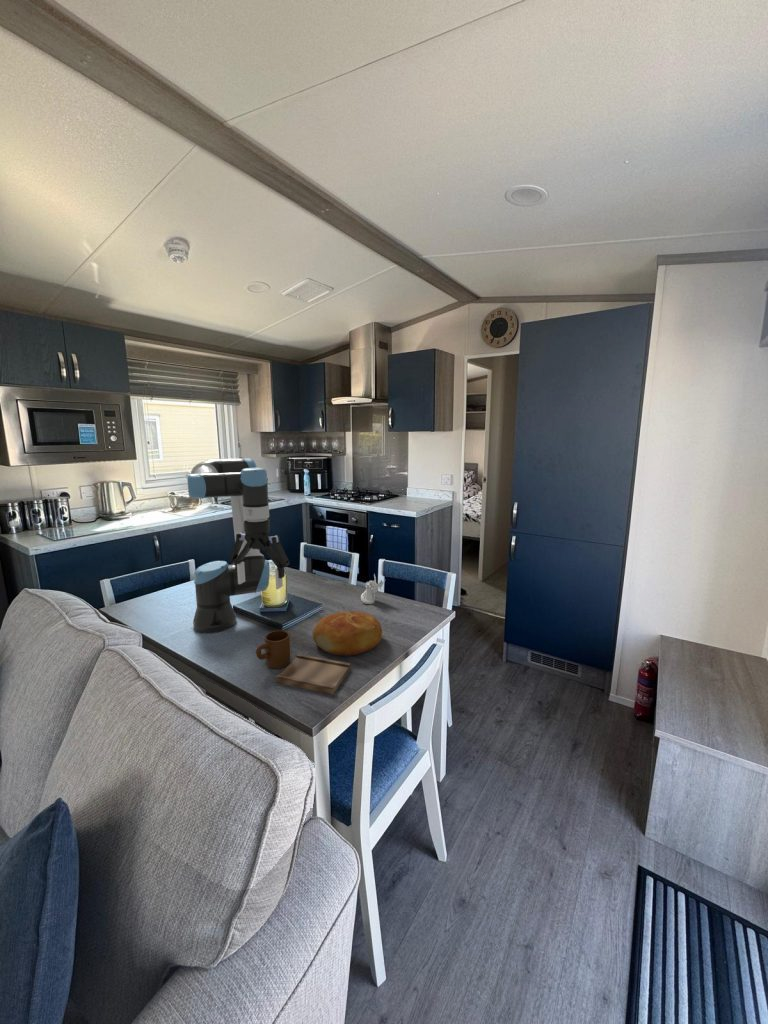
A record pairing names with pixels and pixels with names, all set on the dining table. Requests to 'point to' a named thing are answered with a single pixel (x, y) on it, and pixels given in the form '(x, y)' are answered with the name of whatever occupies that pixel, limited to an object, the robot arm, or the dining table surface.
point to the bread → (347, 633)
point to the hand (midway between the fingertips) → (260, 585)
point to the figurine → (371, 591)
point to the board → (314, 673)
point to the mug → (275, 649)
